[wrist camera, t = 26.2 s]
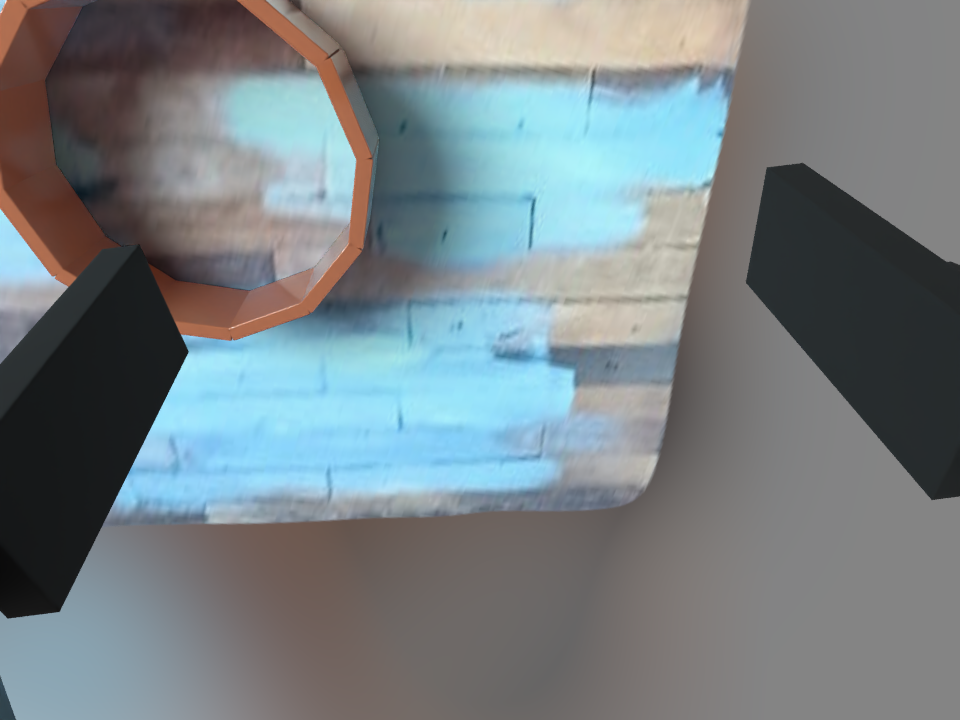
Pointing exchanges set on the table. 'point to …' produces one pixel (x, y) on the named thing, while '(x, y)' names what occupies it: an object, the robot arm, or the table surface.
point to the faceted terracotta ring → (73, 231)
